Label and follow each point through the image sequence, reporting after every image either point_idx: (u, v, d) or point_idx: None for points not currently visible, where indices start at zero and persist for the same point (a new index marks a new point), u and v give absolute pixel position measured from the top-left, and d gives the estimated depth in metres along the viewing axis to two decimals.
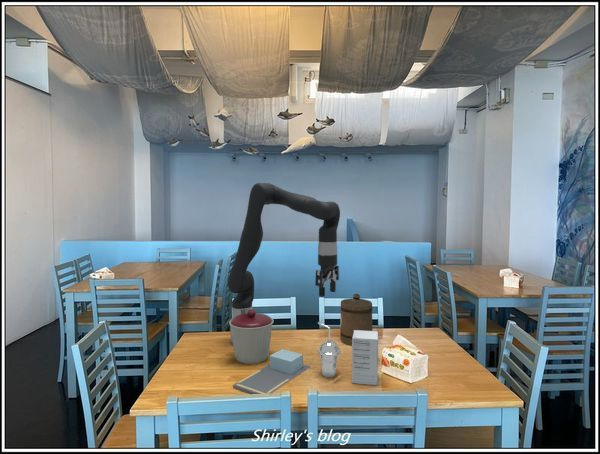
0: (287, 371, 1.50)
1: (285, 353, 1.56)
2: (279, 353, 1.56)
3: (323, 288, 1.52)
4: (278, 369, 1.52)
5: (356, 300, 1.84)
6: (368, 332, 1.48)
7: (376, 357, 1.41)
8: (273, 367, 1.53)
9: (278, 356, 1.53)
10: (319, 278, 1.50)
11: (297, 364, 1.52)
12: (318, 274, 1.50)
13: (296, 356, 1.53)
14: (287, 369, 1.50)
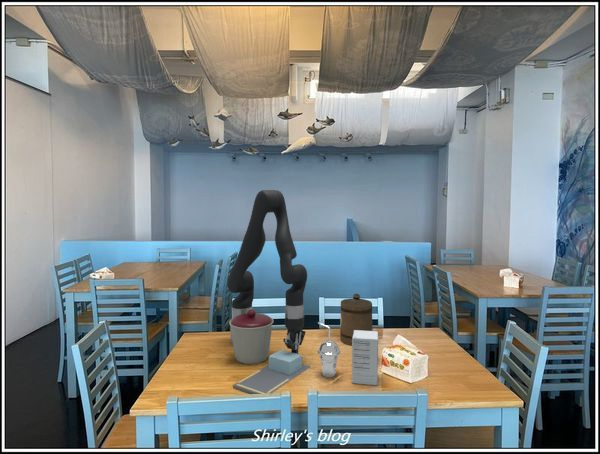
0: (286, 372, 1.49)
1: (284, 354, 1.55)
2: (278, 353, 1.56)
3: (295, 350, 1.58)
4: (277, 370, 1.51)
5: (356, 300, 1.84)
6: (368, 332, 1.48)
7: (376, 357, 1.41)
8: (272, 368, 1.53)
9: (277, 357, 1.53)
10: (289, 345, 1.55)
11: (295, 365, 1.51)
12: (286, 343, 1.54)
13: (295, 356, 1.53)
14: (286, 369, 1.49)
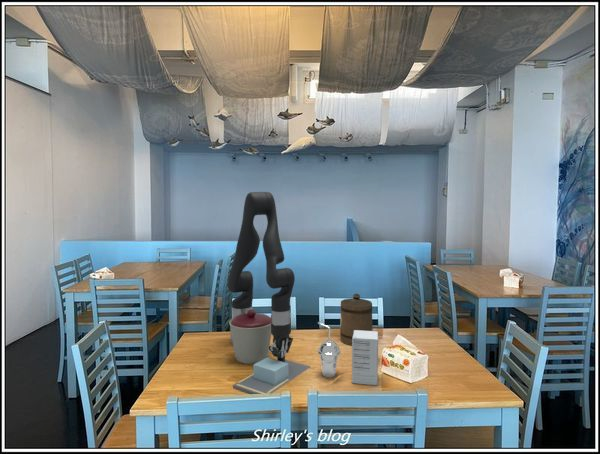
0: (271, 381, 1.41)
1: (270, 362, 1.47)
2: (264, 362, 1.48)
3: (282, 358, 1.50)
4: (262, 379, 1.44)
5: (356, 300, 1.84)
6: (368, 332, 1.48)
7: (376, 357, 1.41)
8: (257, 377, 1.45)
9: (262, 365, 1.45)
10: (275, 353, 1.47)
11: (281, 374, 1.44)
12: (272, 350, 1.46)
13: (281, 365, 1.45)
14: (271, 379, 1.41)
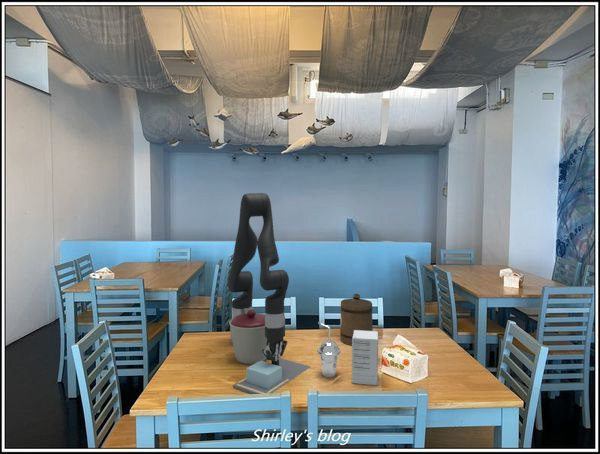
0: (264, 385, 1.39)
1: (263, 366, 1.44)
2: (257, 365, 1.45)
3: (276, 362, 1.47)
4: (255, 383, 1.41)
5: (356, 300, 1.84)
6: (368, 332, 1.48)
7: (376, 357, 1.41)
8: (249, 380, 1.42)
9: (255, 369, 1.42)
10: (268, 356, 1.44)
11: (275, 378, 1.41)
12: (265, 354, 1.43)
13: (274, 368, 1.42)
14: (264, 383, 1.38)
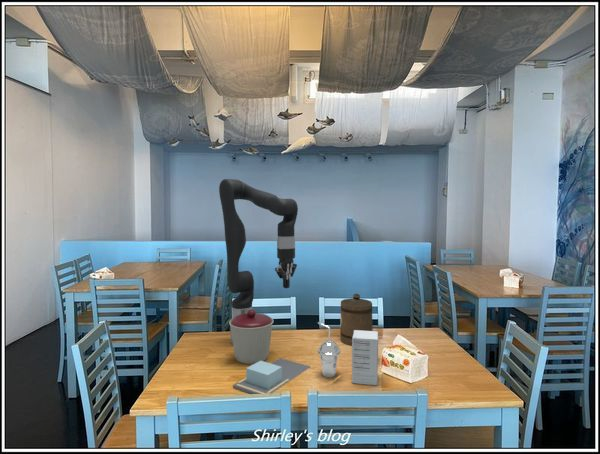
0: (264, 385, 1.39)
1: (263, 366, 1.44)
2: (257, 365, 1.45)
3: (287, 280, 1.66)
4: (255, 383, 1.41)
5: (356, 300, 1.84)
6: (368, 332, 1.48)
7: (376, 357, 1.41)
8: (249, 380, 1.42)
9: (255, 369, 1.42)
10: (280, 274, 1.63)
11: (275, 378, 1.41)
12: (278, 271, 1.62)
13: (274, 368, 1.42)
14: (264, 383, 1.38)
